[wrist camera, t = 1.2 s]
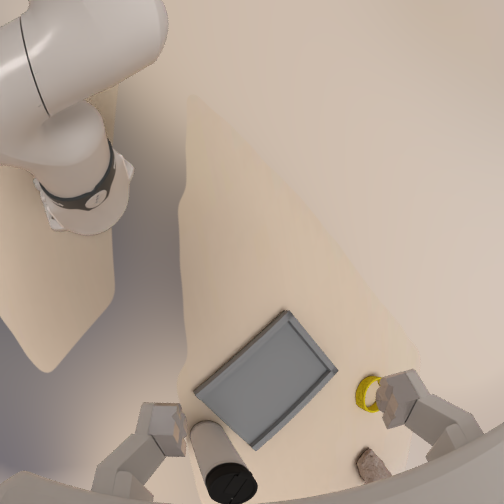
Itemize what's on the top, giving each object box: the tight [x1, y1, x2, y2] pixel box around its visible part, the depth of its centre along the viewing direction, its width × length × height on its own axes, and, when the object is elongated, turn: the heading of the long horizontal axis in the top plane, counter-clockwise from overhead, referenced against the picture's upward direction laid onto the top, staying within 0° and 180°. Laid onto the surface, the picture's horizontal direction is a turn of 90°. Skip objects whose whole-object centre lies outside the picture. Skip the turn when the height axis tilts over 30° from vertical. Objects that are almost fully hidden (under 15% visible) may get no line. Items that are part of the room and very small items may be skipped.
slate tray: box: [194, 311, 338, 451], centre depth 50 cm, size 16×22×2 cm
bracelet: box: [356, 376, 381, 413], centre depth 56 cm, size 7×8×3 cm
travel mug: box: [190, 421, 258, 504], centre depth 37 cm, size 6×7×20 cm
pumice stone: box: [357, 449, 392, 484], centre depth 49 cm, size 15×8×10 cm, turn 29°
